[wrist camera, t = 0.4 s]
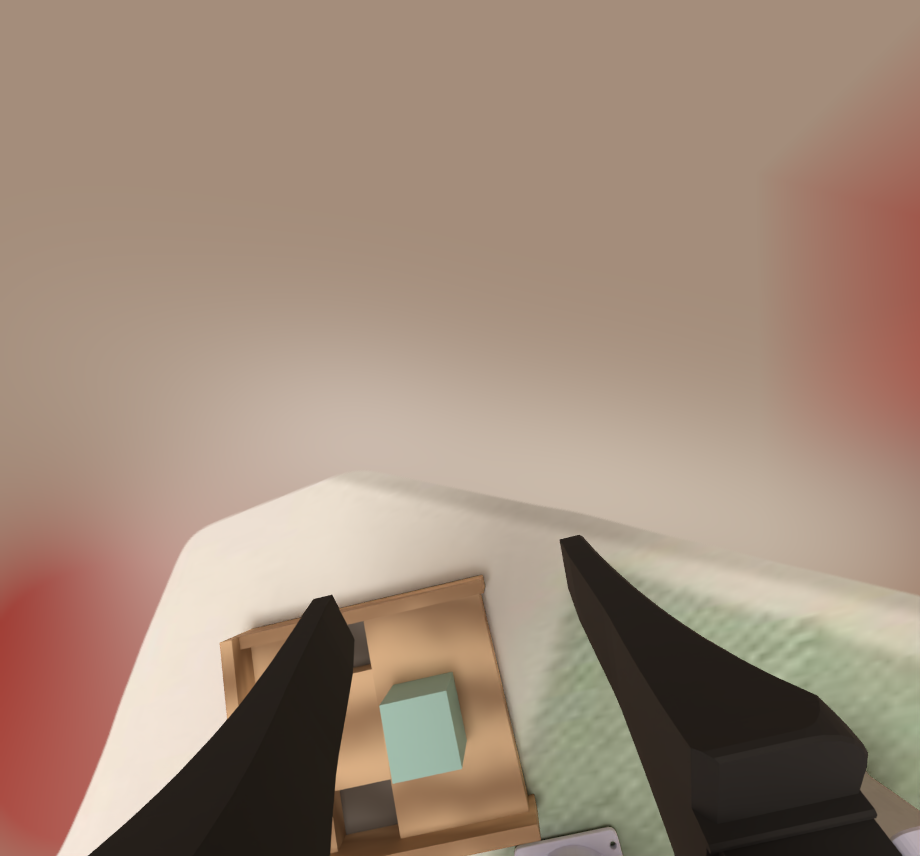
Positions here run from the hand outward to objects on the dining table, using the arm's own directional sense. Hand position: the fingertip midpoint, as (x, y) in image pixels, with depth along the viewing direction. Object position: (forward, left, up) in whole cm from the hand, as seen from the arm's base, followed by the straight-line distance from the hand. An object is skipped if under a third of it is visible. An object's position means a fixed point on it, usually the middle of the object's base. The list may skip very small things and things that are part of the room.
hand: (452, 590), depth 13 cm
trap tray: (-11, +11, -26) cm, 31 cm away
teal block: (-11, +7, -24) cm, 28 cm away
